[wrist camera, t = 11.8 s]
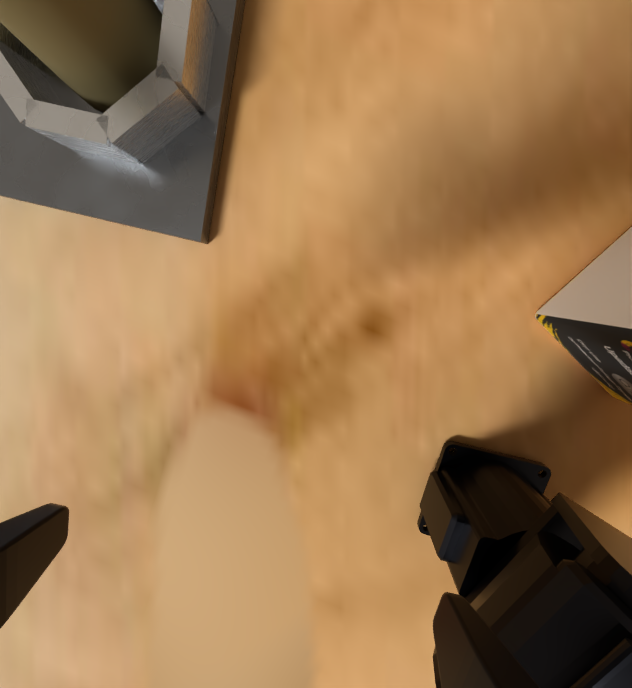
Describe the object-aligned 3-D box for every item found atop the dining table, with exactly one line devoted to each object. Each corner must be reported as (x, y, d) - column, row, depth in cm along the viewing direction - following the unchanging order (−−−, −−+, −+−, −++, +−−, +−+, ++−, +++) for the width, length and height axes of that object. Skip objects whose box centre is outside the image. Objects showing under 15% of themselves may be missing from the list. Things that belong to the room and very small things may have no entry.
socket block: (254, -61, 16) (231, -155, 13) (207, 244, 19) (178, 235, 16) (-29, -119, 16) (-125, -224, 13) (-31, 188, 19) (-111, 168, 16)
